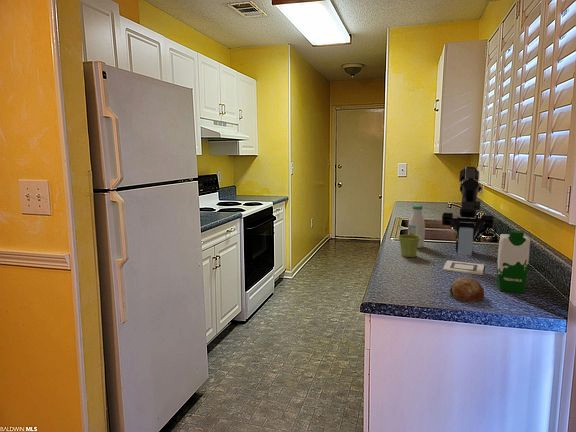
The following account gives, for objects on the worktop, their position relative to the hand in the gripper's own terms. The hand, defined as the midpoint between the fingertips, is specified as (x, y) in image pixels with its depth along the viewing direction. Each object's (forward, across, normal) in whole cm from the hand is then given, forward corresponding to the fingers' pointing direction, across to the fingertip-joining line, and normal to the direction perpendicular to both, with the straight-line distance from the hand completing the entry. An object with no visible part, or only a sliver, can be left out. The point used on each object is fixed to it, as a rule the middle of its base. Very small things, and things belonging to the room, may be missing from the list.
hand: (465, 237), depth 160 cm
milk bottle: (-14, -23, +32) cm, 41 cm away
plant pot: (+1, -23, +18) cm, 29 cm away
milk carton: (+23, +15, -5) cm, 28 cm away
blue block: (+4, 0, +6) cm, 7 cm away
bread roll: (+33, +2, -15) cm, 36 cm away
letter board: (+8, 0, +10) cm, 13 cm away
